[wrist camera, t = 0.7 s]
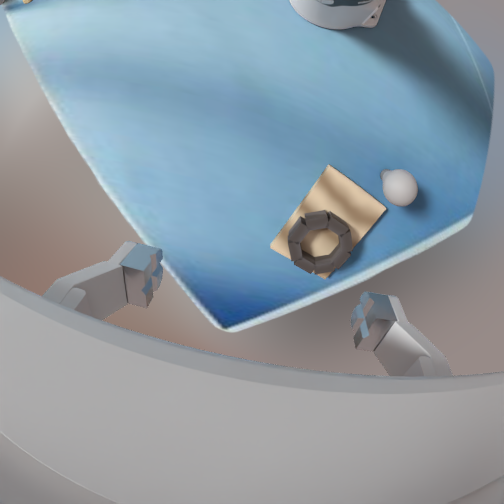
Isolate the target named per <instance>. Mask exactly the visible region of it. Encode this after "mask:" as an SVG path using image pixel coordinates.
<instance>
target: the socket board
mask: <svg viewBox="0 0 504 504" xmlns="http://www.w3.org/2000/svg"><path fill="white" fill-rule="evenodd" d="M385 210H386V207H385V206H384V205H383V204H382V203H380V202H379V201H378V200H377V199H375V198H374V197H373V196H371V195H370V194H369V193H368V192H366V191H365V190H364V189H362V188H361V187H360V186H358V185H357V184H356V183H354V182H353V181H352V180H350V179H349V178H348V177H346V176H345V175H344V174H342V173H341V172H339V171H338V170H337V169H335V168H334V167H332V166H331V165H330V164H329V165H328V166H327V168H326V169H325V170H324V172H323V173H322V174H321V176H320V177H319V179H318V180H317V181H316V183H315V184H314V185H313V187H312V188H311V190H310V191H309V192H308V194H307V195H306V197H305V198H304V199H303V201H302V202H301V203H300V205H299V206H298V207H297V209H296V210H295V212H294V213H293V214H292V216H291V217H290V218H289V220H288V221H287V223H286V224H285V225H284V227H283V228H282V229H281V231H280V232H279V233H278V235H277V236H276V238H275V239H274V240H273V242H272V243H271V246H270V248H271V249H273V250H275V251H277V252H278V253H280V254H282V255H284V256H285V257H287V258H289V259H291V261H294V265H296V266H298V267H299V268H301V269H303V270H305V271H306V272H308V273H310V274H311V273H312V272H313V273H315V274H317V275H319V276H320V277H322V278H324V279H326V278H327V277H328V276H329V275H330V273H331V272H334V269H335V268H337V269H339V268H340V267H341V266H342V265H343V264H344V263H345V261H346V260H347V259H348V258H349V257H350V256H351V253H350V251H353V248H354V247H355V245H356V244H357V243H358V242H359V241H360V240H361V238H362V237H363V236H364V235H365V234H366V233H367V231H368V230H369V229H370V228H371V227H372V225H373V224H374V223H375V222H376V221H377V219H378V218H379V217H380V216H381V214H382V213H383V212H384V211H385Z"/></svg>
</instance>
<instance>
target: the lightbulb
mask: <svg viewBox="0 0 504 504" xmlns="http://www.w3.org/2000/svg"><path fill="white" fill-rule="evenodd" d="M380 177H381V179H382V181H383V192H384V195H385V197H386V198H387V200H388V201H389V202H390V203H392V204H394V205H396V206H407V205H409V204H410V203H412V202H413V201H414V199H415V198H416V195H417V192H418V186H417V182H416V180H415V178H414V177H413V175H412V174H410V173H409V172H408V171H405V170H401V169H396V170H393V171H391V170H388V169H384V170H383V171H382V172H381V174H380Z"/></svg>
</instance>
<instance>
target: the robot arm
mask: <svg viewBox="0 0 504 504" xmlns="http://www.w3.org/2000/svg"><path fill="white" fill-rule="evenodd" d="M289 1H290V3H291V5H292V7H293V8H294V9H295V11H296V12H297V13H298V14H299V15H300V16H302V17H303V18H304V19H306V20H307V21H309V22H311V23H313V24H315V25H318V26H321V27H324V28H329V29H347V28H351V27H356V26H361V27H367V28H373V27H375V26H376V25H377V22H378V20H379V17H380V15H381V12H382V10H383V7H384V4H385V2H386V0H289ZM371 16H373V17H374V18H371ZM162 258H163V256H162V250H161V249H159V248H155V247H151V246H147V245H143V244H138V243H135V242H131V241H126V242H125V243H124V244H123V245H122V246H121V247H120V248H119V249H118V251H117V252H116V253H115V254H114V255H113V256H112V258H110V260H109V261H108V262H106V261H103V262H101V263H98V264H95V265H93V266H90V267H87V268H85V269H82V270H80V271H77V272H74V273H72V274H70V275H67V276H64V277H62V278H59V279H57V280H56V281H55V282H54V283H53V284H52V285H51V287H50V288H49V289H48V290H47V291H46V292H45V293H44V294H43V295H42V296H40V295H38V294H36V293H33V292H31V291H29V290H27V289H25V288H23V287H21V286H19V285H17V284H15V283H13V282H11V281H9V280H7V279H5V278H3V277H1V276H0V504H504V372H495V373H485V374H473V375H458V376H453V375H452V372H451V369H450V367H449V364H448V362H447V359H446V356H445V355H443V354H442V353H441V352H440V351H439V350H438V349H437V348H436V347H435V346H434V345H433V344H432V343H431V342H430V341H429V340H428V339H427V338H426V337H425V336H424V335H423V334H422V333H421V332H420V331H419V330H417V329H416V328H415V327H414V326H413V325H412V324H411V323H408V321H407V319H406V316H405V314H404V311H403V309H402V306H401V304H400V302H399V299H398V298H397V297H396V296H390V295H382V294H376V293H371V292H364V293H363V294H362V296H361V297H360V302H361V304H359V305H358V306H356V307H355V309H354V311H353V313H352V317H351V327H352V330H353V331H354V332H355V335H354V343H355V348H356V349H357V350H364V351H372V352H374V354H375V356H376V357H377V358H378V360H379V361H380V363H381V364H382V365H383V367H384V368H385V370H386V371H387V373H388V374H389V375H390V376H376V375H359V374H346V373H335V372H325V371H316V370H309V369H301V368H294V367H287V366H280V365H274V364H268V363H262V362H257V361H251V360H246V359H240V358H235V357H231V356H226V355H221V354H217V353H212V352H208V351H204V350H199V349H195V348H191V347H187V346H183V345H180V344H176V343H172V342H169V341H165V340H161V339H158V338H154V337H151V336H148V335H144V334H141V333H138V332H135V331H132V330H128V329H125V328H122V327H119V326H116V325H113V324H110V323H108V322H105V321H102V320H103V319H105V318H107V317H108V316H110V315H111V314H113V313H114V312H116V311H118V310H119V309H121V308H122V307H124V306H126V305H127V303H129V304H132V305H136V306H140V307H144V308H147V307H148V306H149V304H150V302H151V300H152V298H153V292H154V291H156V290H157V289H158V288H159V286H160V283H161V280H162V274H163V267H162V266H161V264H160V262H161V260H162Z"/></svg>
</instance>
